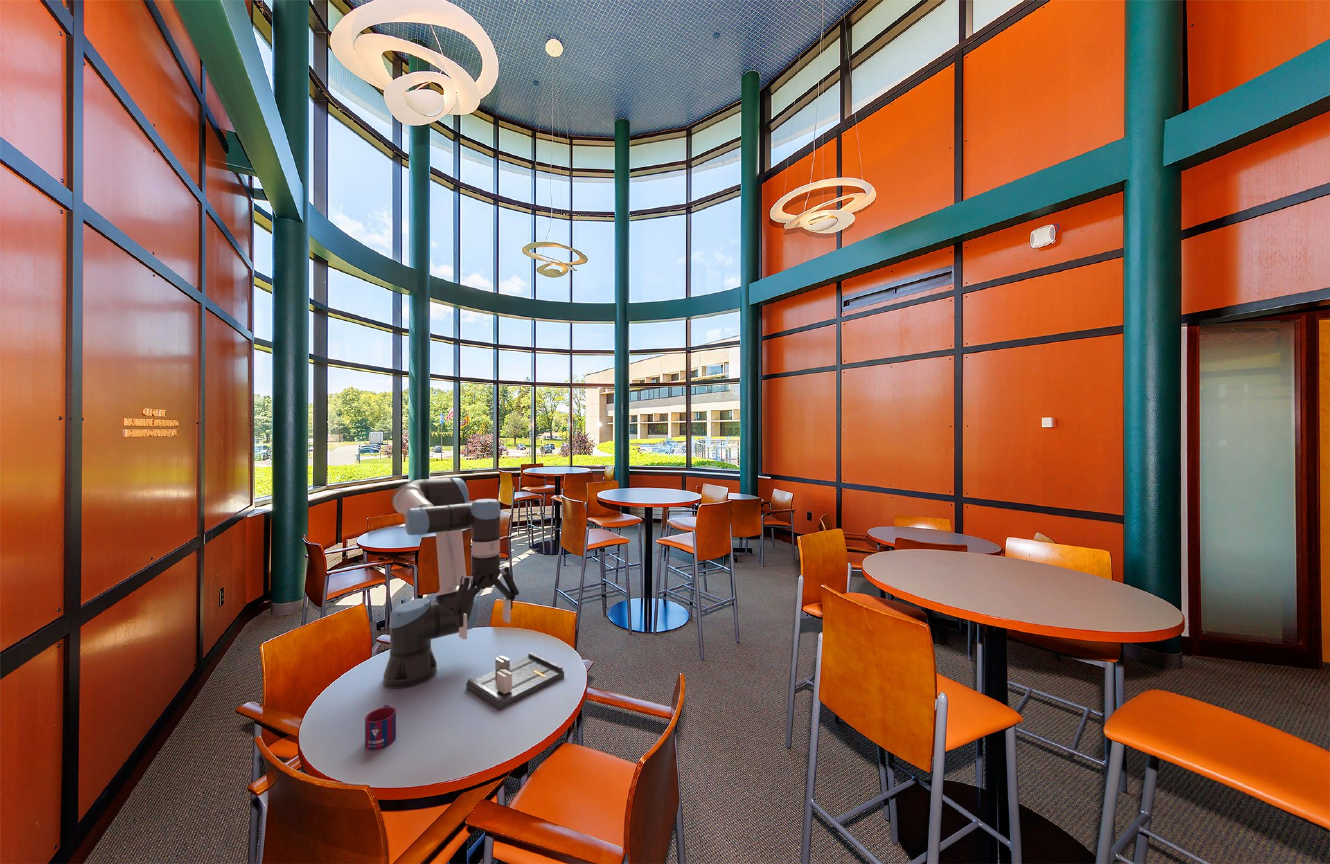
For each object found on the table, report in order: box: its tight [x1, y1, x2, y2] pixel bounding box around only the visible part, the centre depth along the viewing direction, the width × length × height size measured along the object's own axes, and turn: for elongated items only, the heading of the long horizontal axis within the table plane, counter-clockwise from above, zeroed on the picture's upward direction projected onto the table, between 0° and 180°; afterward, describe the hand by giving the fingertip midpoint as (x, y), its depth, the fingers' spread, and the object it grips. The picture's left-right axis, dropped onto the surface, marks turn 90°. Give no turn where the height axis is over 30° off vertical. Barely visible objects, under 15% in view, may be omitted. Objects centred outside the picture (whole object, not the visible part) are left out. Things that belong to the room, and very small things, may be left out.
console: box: [465, 651, 565, 711], centre depth 145 cm, size 18×23×7 cm
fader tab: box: [497, 669, 512, 694], centre depth 136 cm, size 4×2×5 cm, turn 51°
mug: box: [364, 704, 397, 751], centre depth 119 cm, size 7×10×7 cm
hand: (485, 629), depth 131 cm, fingers open, 13 cm apart
